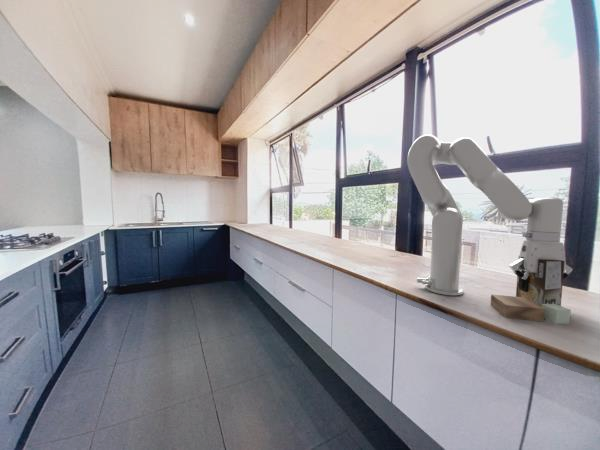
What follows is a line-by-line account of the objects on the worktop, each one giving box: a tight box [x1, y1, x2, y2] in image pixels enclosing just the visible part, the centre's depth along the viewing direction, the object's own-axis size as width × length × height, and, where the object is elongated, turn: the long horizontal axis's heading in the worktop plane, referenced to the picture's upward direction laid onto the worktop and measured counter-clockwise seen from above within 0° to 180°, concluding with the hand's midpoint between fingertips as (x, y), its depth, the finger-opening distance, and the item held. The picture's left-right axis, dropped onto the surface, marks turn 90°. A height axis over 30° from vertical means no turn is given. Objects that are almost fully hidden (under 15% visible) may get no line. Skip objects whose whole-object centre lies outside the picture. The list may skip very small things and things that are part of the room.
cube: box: [542, 304, 572, 325], centre depth 69 cm, size 4×4×4 cm
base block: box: [490, 293, 545, 323], centre depth 73 cm, size 9×9×4 cm
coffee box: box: [515, 255, 564, 307], centre depth 77 cm, size 9×6×16 cm
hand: (538, 291), depth 78 cm, fingers closed on coffee box, 7 cm apart
